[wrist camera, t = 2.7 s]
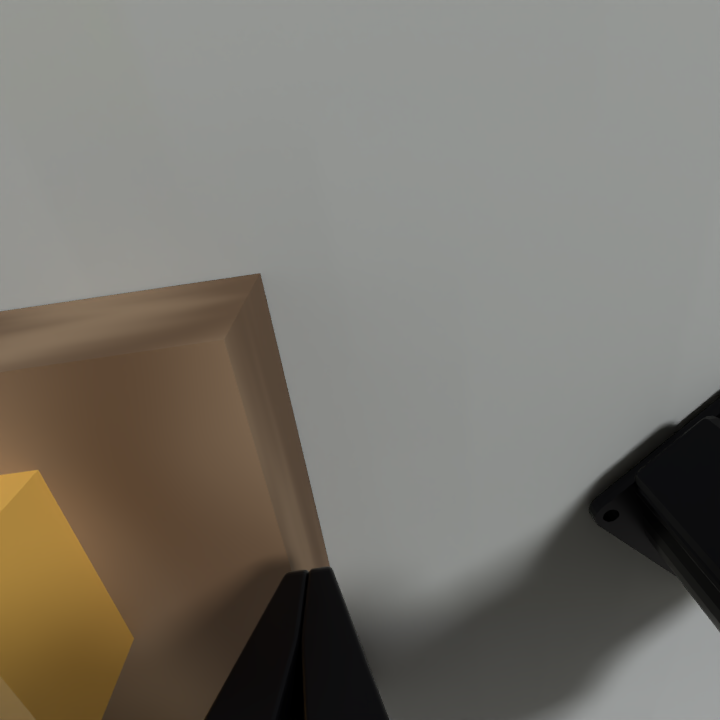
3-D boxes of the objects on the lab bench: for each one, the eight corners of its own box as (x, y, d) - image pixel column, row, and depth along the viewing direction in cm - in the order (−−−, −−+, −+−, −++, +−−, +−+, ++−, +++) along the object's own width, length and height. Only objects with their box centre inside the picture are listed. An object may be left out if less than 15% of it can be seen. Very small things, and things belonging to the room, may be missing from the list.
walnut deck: (260, 273, 11) (223, 339, 7) (360, 694, 19) (366, 825, 15) (-380, 367, 11) (-712, 475, 8) (-17, 744, 19) (-98, 883, 16)
